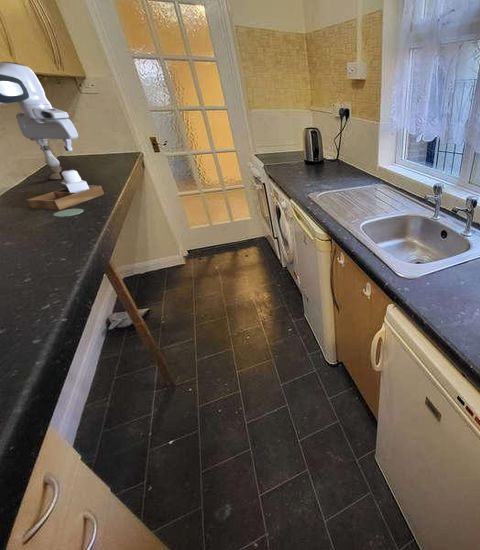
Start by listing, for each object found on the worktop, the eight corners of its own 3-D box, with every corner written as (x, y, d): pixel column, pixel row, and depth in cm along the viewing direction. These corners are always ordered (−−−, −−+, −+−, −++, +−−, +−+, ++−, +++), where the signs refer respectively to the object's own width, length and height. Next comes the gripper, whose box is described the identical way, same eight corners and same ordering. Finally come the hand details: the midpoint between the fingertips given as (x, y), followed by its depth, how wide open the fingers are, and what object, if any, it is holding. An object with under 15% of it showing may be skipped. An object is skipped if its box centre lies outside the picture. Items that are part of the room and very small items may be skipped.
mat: (46, 216, 113) (46, 215, 113) (67, 208, 121) (67, 208, 121) (69, 217, 113) (69, 216, 113) (89, 209, 121) (89, 208, 121)
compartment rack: (30, 209, 120) (25, 199, 117) (79, 193, 139) (75, 185, 137) (59, 210, 119) (54, 200, 117) (104, 194, 139) (100, 185, 137)
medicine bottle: (68, 198, 133) (54, 170, 127) (88, 194, 138) (75, 167, 132) (74, 201, 130) (59, 172, 123) (93, 197, 135) (80, 169, 128)
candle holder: (46, 178, 161) (23, 138, 150) (64, 175, 168) (44, 136, 157) (56, 180, 158) (34, 139, 148) (74, 176, 165) (55, 137, 155)
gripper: (5, 113, 114) (26, 151, 121) (57, 113, 113) (75, 152, 121) (22, 112, 119) (41, 148, 126) (71, 112, 119) (88, 149, 126)
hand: (58, 150), depth 124 cm, fingers open, 8 cm apart
